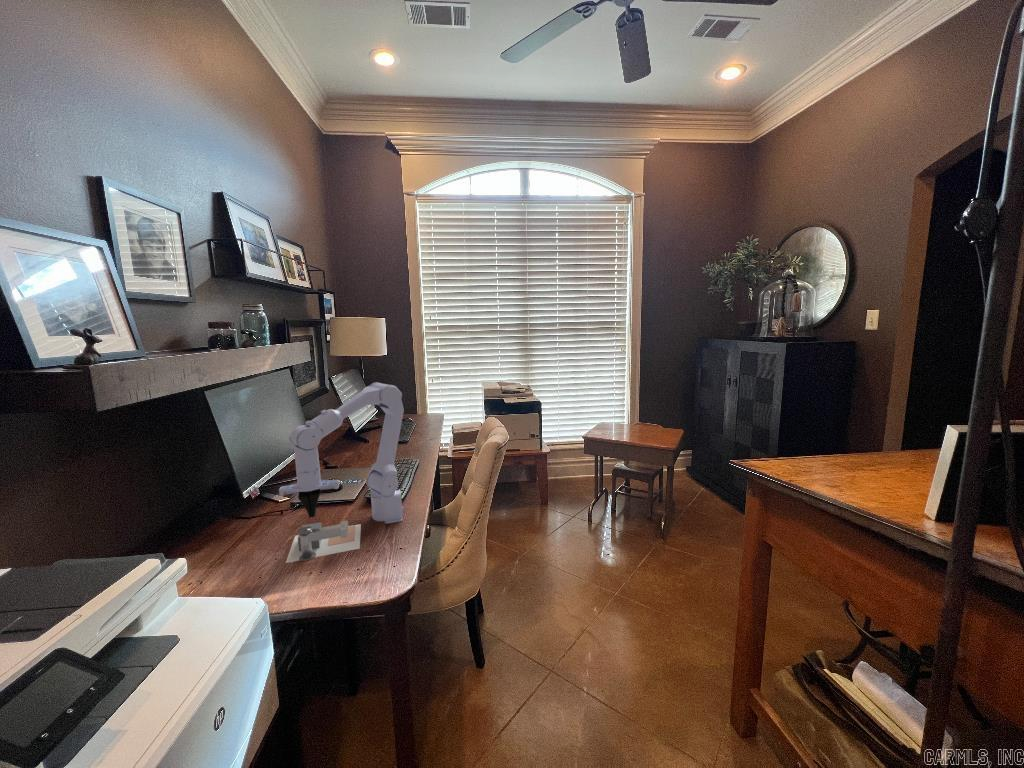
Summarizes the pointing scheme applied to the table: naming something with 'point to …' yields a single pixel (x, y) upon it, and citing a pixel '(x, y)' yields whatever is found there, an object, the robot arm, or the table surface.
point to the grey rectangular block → (314, 543)
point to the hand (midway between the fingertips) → (312, 515)
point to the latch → (320, 535)
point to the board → (328, 545)
